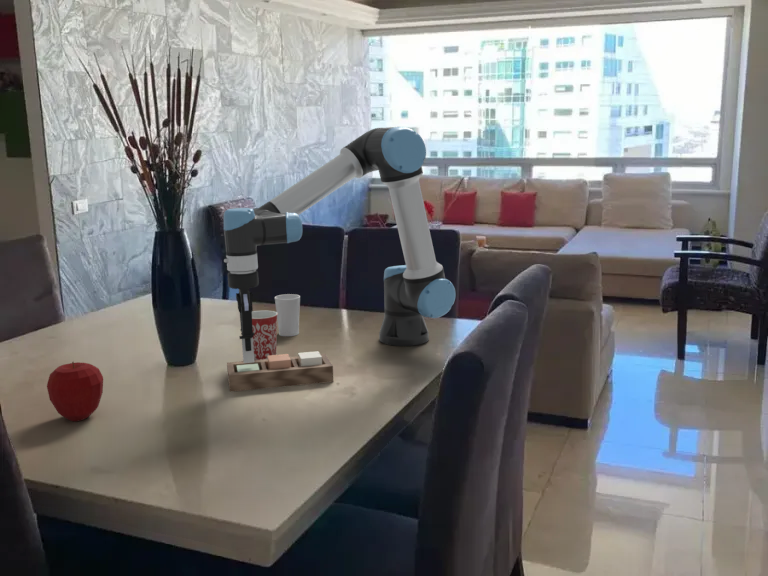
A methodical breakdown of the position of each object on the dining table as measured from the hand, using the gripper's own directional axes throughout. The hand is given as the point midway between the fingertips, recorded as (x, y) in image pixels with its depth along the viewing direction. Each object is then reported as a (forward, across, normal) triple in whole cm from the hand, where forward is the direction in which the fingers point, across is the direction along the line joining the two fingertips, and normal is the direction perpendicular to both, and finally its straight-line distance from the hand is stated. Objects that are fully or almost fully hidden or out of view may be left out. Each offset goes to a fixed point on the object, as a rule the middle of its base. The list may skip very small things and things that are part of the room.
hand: (248, 361), depth 190 cm
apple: (+5, +13, -39) cm, 42 cm away
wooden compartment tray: (+6, 0, +8) cm, 10 cm away
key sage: (+5, 0, 0) cm, 5 cm away
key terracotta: (+3, 0, +8) cm, 8 cm away
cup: (+6, -45, +16) cm, 48 cm away
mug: (+6, -20, +6) cm, 22 cm away
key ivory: (+3, 0, +16) cm, 16 cm away
